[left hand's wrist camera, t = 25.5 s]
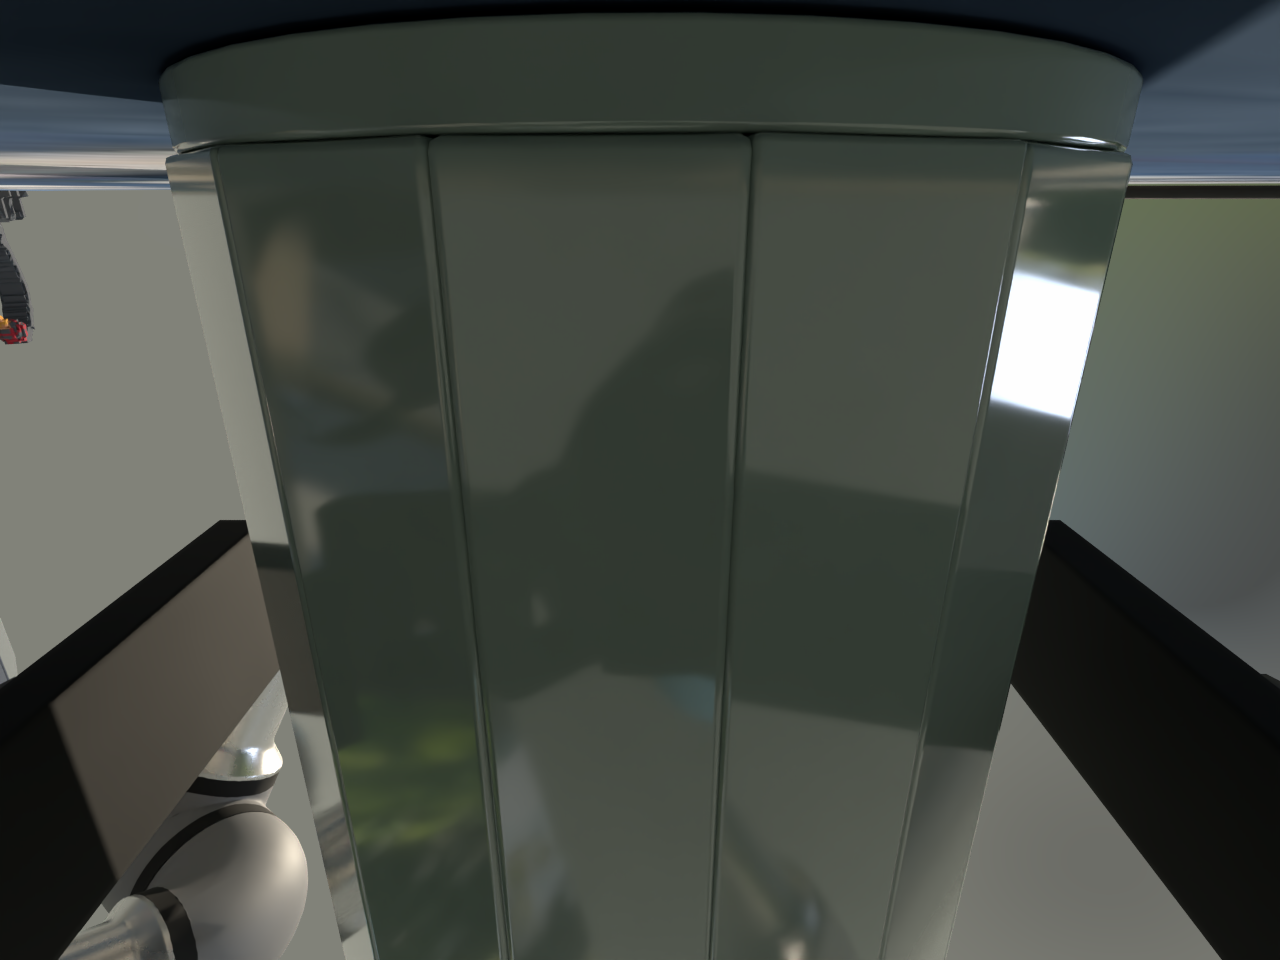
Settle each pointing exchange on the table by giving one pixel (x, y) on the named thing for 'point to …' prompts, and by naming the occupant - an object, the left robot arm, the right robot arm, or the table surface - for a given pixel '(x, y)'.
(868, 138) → the beaker
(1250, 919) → the left robot arm
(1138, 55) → the table surface
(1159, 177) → the table surface
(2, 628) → the pot
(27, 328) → the toy
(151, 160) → the table surface
